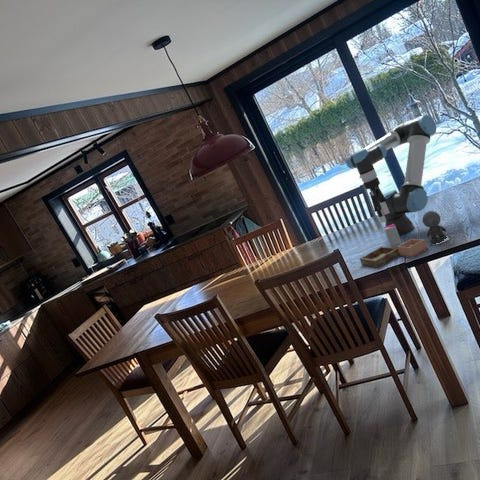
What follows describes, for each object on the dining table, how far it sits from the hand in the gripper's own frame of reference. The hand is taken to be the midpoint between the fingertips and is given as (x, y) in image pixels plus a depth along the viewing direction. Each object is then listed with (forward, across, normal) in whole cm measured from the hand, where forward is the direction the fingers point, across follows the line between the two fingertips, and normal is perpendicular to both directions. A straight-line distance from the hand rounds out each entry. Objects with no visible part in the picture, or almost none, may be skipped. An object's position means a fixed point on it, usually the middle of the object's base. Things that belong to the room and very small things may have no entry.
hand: (385, 217), depth 223 cm
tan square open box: (+16, +16, +10) cm, 25 cm away
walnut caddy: (+16, +14, -6) cm, 22 cm away
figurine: (+17, +9, +21) cm, 28 cm away
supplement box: (+17, 0, 0) cm, 17 cm away
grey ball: (+15, +16, +10) cm, 24 cm away
